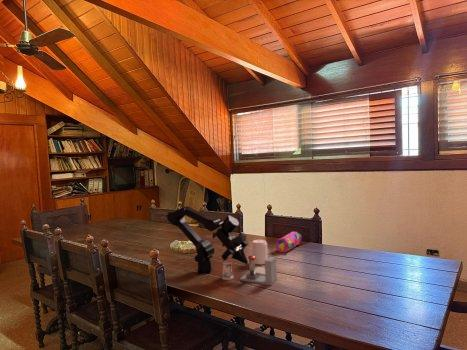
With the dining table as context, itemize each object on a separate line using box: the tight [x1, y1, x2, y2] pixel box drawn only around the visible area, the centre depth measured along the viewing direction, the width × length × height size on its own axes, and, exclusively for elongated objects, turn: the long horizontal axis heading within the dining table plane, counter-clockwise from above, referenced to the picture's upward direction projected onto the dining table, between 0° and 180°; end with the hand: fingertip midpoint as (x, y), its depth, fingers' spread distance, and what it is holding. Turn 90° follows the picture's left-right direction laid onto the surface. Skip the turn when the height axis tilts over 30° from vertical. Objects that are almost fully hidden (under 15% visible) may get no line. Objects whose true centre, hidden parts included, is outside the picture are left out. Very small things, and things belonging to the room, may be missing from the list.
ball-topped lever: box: [245, 254, 260, 279], centre depth 157 cm, size 5×4×10 cm
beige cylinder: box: [251, 239, 269, 266], centre depth 181 cm, size 8×8×12 cm
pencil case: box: [275, 231, 303, 254], centre depth 205 cm, size 22×9×9 cm, turn 148°
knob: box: [221, 261, 235, 281], centre depth 161 cm, size 6×6×7 cm
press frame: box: [240, 256, 278, 286], centre depth 160 cm, size 16×17×11 cm
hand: (247, 263), depth 158 cm, fingers closed
